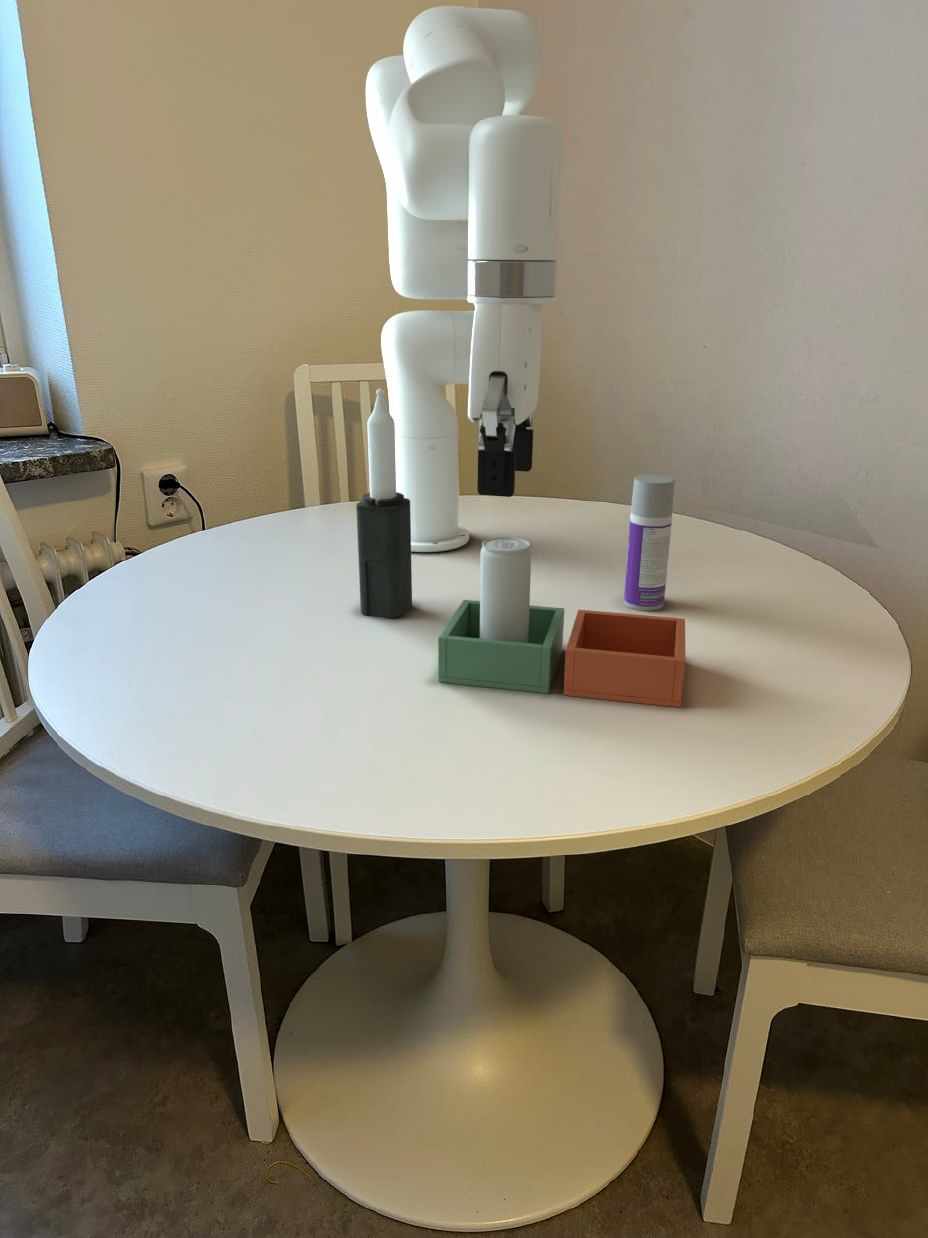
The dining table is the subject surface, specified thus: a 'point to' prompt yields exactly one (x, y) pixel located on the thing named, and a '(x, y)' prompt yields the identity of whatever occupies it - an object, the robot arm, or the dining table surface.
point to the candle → (383, 525)
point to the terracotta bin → (626, 658)
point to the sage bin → (501, 651)
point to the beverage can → (505, 589)
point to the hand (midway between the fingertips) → (506, 481)
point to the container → (649, 542)
